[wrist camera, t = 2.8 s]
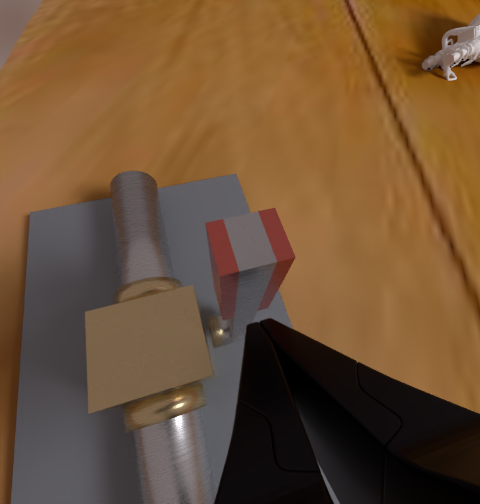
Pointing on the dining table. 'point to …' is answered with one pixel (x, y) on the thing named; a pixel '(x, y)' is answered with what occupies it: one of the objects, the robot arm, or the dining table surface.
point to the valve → (152, 353)
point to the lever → (245, 270)
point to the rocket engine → (457, 49)
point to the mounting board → (74, 346)
